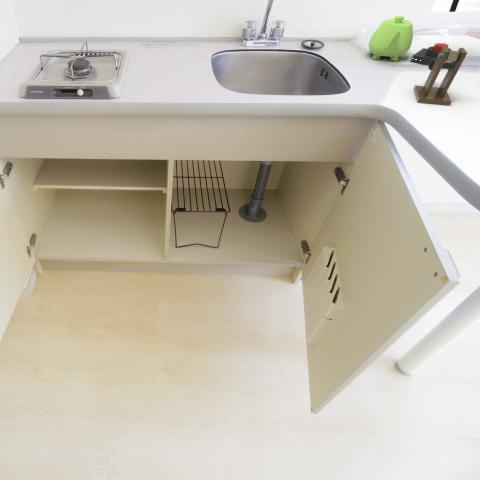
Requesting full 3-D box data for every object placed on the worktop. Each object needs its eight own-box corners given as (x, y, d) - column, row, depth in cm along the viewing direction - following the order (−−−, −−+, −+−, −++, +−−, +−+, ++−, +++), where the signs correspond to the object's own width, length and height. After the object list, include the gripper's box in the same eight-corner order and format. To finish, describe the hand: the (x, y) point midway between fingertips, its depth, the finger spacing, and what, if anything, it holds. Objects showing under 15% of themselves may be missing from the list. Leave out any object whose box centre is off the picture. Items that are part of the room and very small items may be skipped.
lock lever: (424, 71, 107) (428, 58, 106) (438, 72, 106) (442, 59, 104) (442, 62, 94) (448, 47, 93) (458, 63, 93) (464, 48, 92)
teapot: (406, 67, 119) (424, 25, 110) (364, 63, 124) (378, 22, 115) (404, 49, 132) (420, 10, 123) (366, 46, 136) (378, 8, 127)
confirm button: (447, 50, 119) (450, 44, 118) (443, 53, 117) (446, 47, 116) (434, 48, 121) (437, 42, 120) (430, 50, 119) (433, 45, 118)
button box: (457, 61, 121) (464, 48, 118) (448, 69, 116) (455, 56, 113) (420, 54, 127) (425, 42, 124) (410, 61, 122) (415, 49, 120)
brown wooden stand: (413, 89, 106) (434, 43, 97) (443, 91, 104) (468, 44, 95) (417, 102, 100) (440, 54, 91) (449, 105, 97) (477, 56, 88)
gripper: (517, -90, 96) (478, 11, 108) (459, -82, 103) (428, 12, 115) (520, -97, 91) (478, 10, 103) (459, -88, 98) (426, 11, 110)
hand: (452, 11), depth 109 cm, fingers closed
